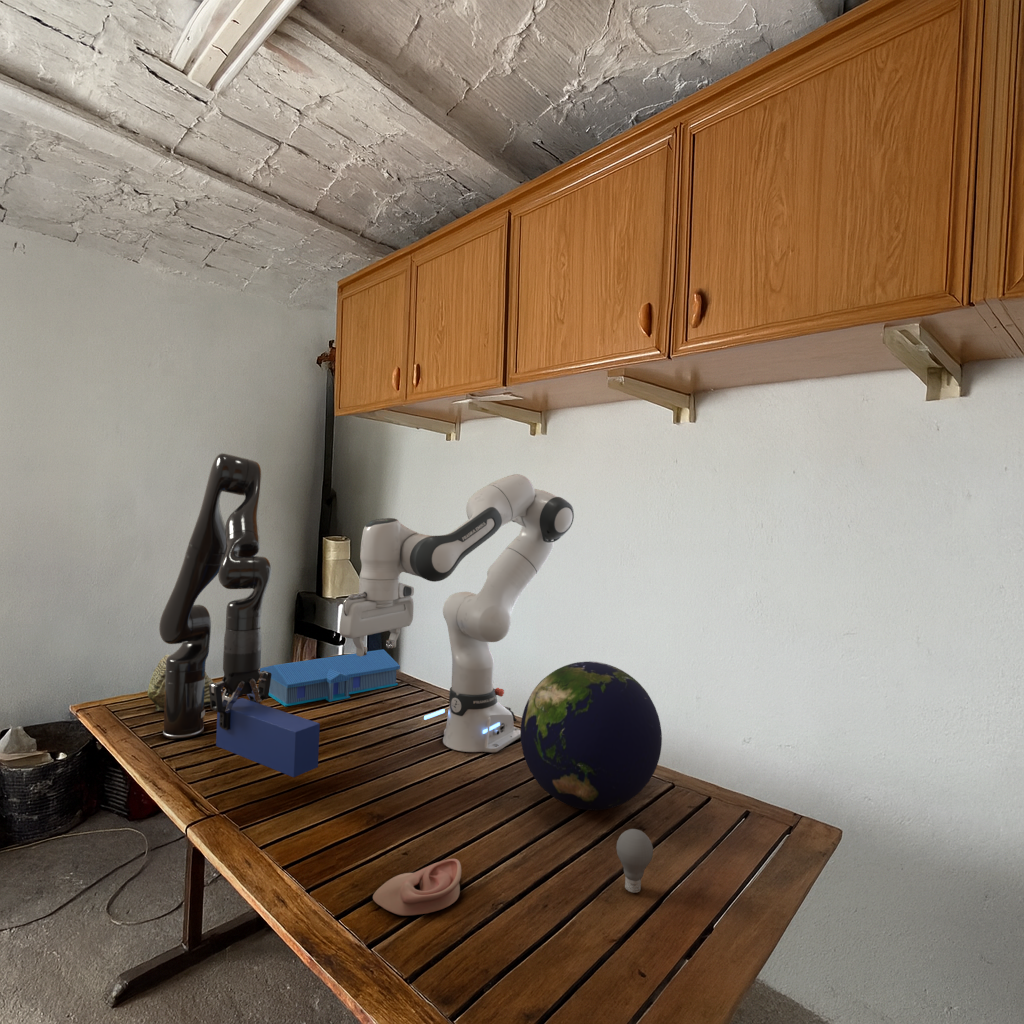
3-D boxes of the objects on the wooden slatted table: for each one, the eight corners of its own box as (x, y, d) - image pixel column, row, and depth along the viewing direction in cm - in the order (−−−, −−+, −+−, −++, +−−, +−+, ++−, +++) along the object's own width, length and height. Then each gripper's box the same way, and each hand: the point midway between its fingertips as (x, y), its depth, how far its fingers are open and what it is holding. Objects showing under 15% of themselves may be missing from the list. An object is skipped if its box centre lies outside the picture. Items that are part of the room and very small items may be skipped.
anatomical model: (365, 883, 98) (393, 844, 109) (364, 909, 98) (392, 867, 109) (447, 898, 95) (468, 857, 106) (446, 924, 95) (467, 880, 106)
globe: (495, 817, 128) (501, 670, 127) (544, 763, 155) (549, 641, 155) (643, 855, 116) (651, 693, 116) (668, 789, 144) (674, 658, 144)
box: (215, 746, 137) (217, 704, 137) (240, 737, 142) (242, 697, 142) (293, 777, 124) (295, 731, 124) (318, 767, 129) (320, 723, 129)
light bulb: (610, 879, 108) (613, 822, 108) (644, 879, 109) (647, 822, 109) (619, 902, 102) (622, 840, 102) (655, 901, 103) (658, 840, 103)
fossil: (144, 707, 182) (145, 655, 182) (212, 696, 194) (213, 647, 194) (151, 716, 175) (153, 662, 175) (221, 703, 188) (223, 653, 188)
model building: (289, 709, 186) (291, 675, 185) (258, 688, 204) (259, 657, 204) (403, 687, 212) (405, 657, 212) (366, 670, 230) (368, 643, 230)
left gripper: (222, 657, 129) (219, 738, 130) (281, 645, 141) (278, 719, 142) (201, 651, 133) (198, 730, 133) (260, 639, 145) (257, 712, 146)
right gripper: (355, 597, 132) (352, 663, 132) (418, 587, 149) (416, 646, 149) (333, 593, 135) (331, 658, 135) (398, 584, 152) (396, 641, 153)
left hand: (239, 724), depth 138 cm, fingers closed on box, 6 cm apart
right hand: (376, 651), depth 143 cm, fingers open, 8 cm apart
